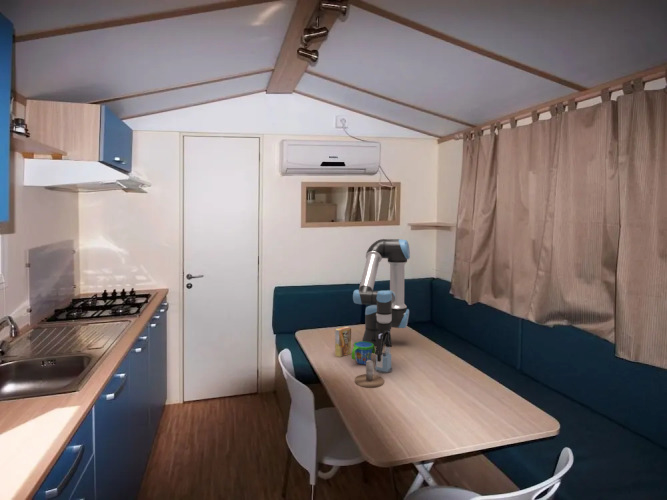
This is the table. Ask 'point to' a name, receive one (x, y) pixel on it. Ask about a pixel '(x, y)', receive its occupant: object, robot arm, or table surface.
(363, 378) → the post stand
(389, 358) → the cube with round hole
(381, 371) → the coaster
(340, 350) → the candy box
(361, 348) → the snack cup
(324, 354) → the table surface
